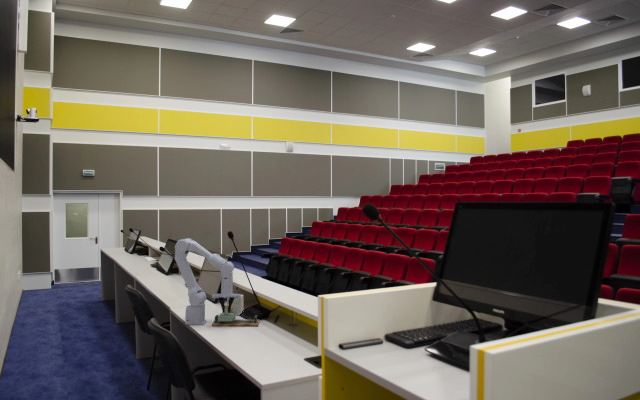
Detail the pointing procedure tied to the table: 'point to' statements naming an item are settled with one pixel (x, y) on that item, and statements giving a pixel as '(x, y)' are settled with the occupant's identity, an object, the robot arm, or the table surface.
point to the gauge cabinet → (232, 312)
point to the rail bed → (236, 323)
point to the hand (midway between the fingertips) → (226, 312)
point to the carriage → (226, 315)
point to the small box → (237, 305)
